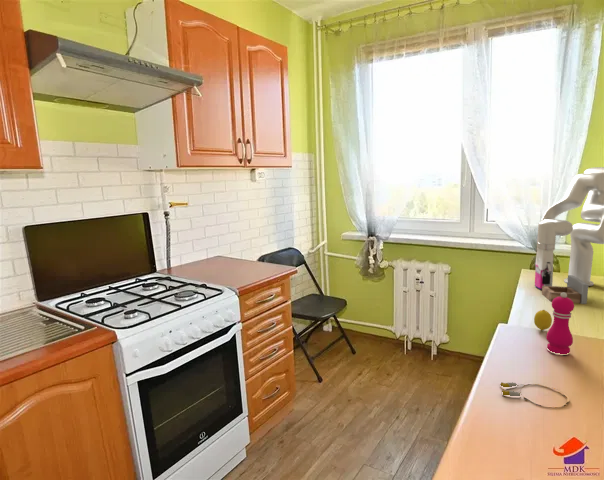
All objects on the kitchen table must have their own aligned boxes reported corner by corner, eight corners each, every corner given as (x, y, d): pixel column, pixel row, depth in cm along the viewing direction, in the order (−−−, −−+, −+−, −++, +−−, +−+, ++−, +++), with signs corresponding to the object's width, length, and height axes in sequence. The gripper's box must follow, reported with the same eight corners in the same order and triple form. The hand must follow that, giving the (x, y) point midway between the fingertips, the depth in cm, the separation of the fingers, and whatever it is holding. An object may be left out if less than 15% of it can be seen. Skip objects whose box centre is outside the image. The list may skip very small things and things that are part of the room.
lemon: (549, 328, 145) (551, 308, 144) (551, 334, 140) (553, 313, 139) (532, 326, 148) (534, 306, 146) (534, 332, 143) (535, 311, 141)
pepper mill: (567, 348, 129) (573, 290, 126) (574, 358, 122) (581, 296, 119) (542, 345, 131) (547, 288, 128) (548, 354, 125) (554, 294, 121)
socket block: (541, 293, 186) (542, 285, 186) (569, 295, 183) (569, 287, 183) (550, 301, 175) (551, 292, 174) (580, 303, 172) (581, 294, 172)
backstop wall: (566, 293, 187) (568, 275, 186) (570, 293, 187) (572, 275, 185) (581, 304, 172) (583, 284, 170) (586, 304, 171) (588, 284, 170)
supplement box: (546, 286, 197) (547, 263, 195) (552, 289, 191) (554, 266, 189) (534, 286, 198) (535, 264, 196) (539, 289, 192) (541, 267, 190)
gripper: (531, 243, 200) (529, 277, 203) (543, 250, 183) (541, 286, 187) (547, 243, 198) (545, 277, 201) (561, 250, 182) (558, 287, 185)
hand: (543, 281), depth 194 cm, fingers closed on supplement box, 6 cm apart
